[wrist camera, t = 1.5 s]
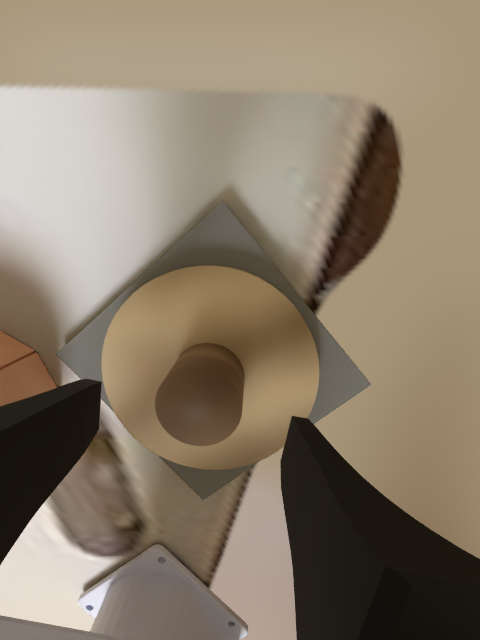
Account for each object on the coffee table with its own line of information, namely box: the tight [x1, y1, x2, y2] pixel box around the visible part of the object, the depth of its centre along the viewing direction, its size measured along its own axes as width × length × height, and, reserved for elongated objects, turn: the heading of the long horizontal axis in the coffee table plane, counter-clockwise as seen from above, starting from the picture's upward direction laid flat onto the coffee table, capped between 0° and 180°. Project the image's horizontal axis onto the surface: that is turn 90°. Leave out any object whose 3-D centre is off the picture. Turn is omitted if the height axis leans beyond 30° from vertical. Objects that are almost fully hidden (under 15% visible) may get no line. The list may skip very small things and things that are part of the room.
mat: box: [56, 201, 371, 500], centre depth 17 cm, size 12×12×1 cm
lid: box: [101, 265, 319, 470], centre depth 15 cm, size 11×11×4 cm
